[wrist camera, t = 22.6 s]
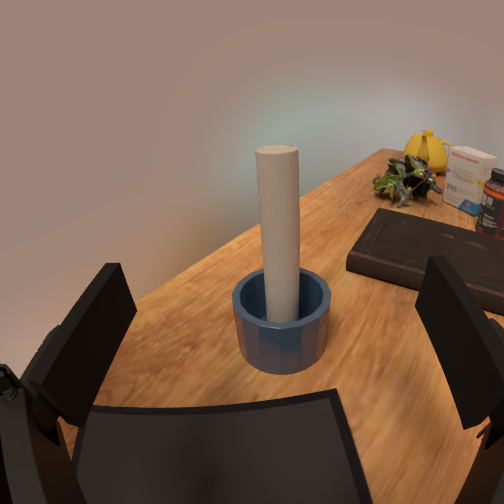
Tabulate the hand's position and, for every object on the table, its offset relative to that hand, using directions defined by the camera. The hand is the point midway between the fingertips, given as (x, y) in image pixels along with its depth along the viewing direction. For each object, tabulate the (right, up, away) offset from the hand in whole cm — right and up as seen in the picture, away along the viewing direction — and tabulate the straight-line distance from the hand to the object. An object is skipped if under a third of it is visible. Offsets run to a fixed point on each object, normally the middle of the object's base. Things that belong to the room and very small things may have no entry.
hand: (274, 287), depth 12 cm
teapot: (+47, +23, +57) cm, 77 cm away
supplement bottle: (+39, +4, +26) cm, 48 cm away
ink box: (+43, +11, +37) cm, 58 cm away
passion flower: (+28, +11, +39) cm, 49 cm away
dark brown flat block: (+24, 0, +21) cm, 32 cm away
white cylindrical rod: (+2, -6, +14) cm, 15 cm away
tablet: (-4, -14, +2) cm, 15 cm away
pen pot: (+2, -6, +14) cm, 15 cm away
